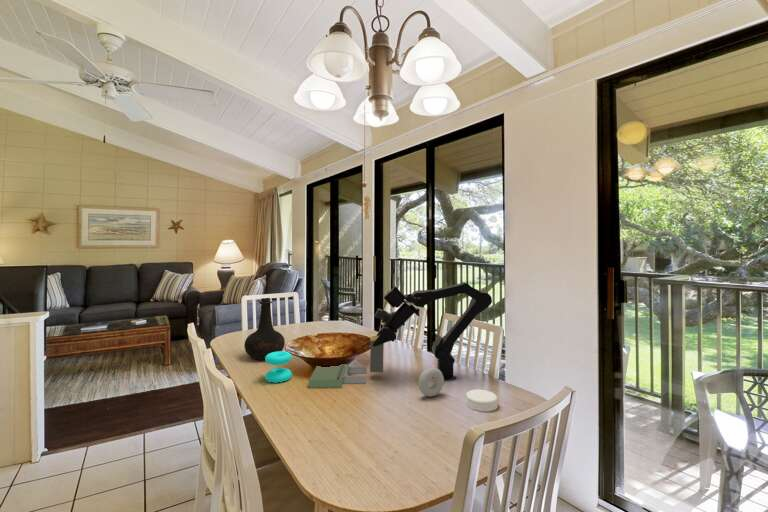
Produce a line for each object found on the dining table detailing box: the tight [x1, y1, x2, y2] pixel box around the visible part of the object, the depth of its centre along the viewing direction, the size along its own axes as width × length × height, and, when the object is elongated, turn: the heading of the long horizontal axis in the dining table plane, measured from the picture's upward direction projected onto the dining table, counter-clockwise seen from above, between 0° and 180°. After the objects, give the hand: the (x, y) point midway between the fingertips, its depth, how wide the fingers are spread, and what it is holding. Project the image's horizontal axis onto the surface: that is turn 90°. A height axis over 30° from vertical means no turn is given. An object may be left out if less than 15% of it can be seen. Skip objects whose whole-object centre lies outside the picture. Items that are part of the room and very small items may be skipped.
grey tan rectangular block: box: [369, 335, 385, 373], centre depth 143 cm, size 5×5×13 cm
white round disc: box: [465, 389, 499, 413], centre depth 118 cm, size 10×10×4 cm
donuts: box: [264, 350, 293, 384], centre depth 142 cm, size 10×10×10 cm
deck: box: [308, 363, 368, 389], centre depth 143 cm, size 20×20×4 cm
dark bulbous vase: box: [244, 297, 286, 360], centre depth 170 cm, size 18×18×28 cm
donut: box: [418, 366, 445, 398], centre depth 125 cm, size 10×3×10 cm, turn 118°
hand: (373, 343), depth 143 cm, fingers closed on grey tan rectangular block, 5 cm apart
